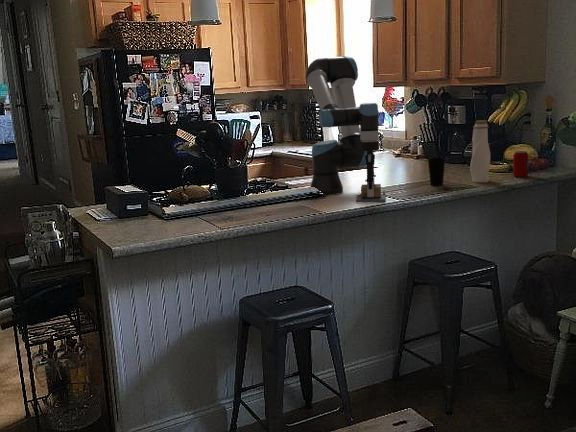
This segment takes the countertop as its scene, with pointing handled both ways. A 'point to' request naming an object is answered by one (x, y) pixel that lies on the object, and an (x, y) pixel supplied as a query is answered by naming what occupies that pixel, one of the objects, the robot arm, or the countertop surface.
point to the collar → (376, 189)
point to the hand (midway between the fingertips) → (371, 194)
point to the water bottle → (480, 152)
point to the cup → (436, 171)
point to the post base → (371, 198)
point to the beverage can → (520, 163)
